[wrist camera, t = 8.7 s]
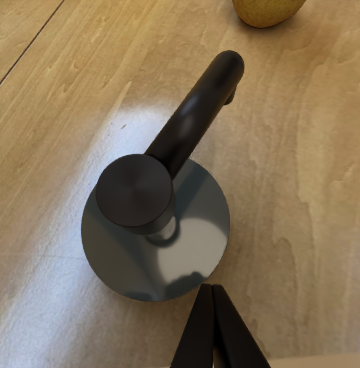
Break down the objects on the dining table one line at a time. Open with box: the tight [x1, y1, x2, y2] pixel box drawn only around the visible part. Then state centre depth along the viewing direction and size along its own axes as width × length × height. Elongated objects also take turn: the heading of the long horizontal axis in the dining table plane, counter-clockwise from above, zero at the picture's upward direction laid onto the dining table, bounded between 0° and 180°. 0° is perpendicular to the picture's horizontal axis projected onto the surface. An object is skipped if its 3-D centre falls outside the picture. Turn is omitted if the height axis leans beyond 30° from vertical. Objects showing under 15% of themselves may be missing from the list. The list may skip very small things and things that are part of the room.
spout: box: [96, 50, 244, 235], centre depth 14 cm, size 13×4×4 cm, turn 148°
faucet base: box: [81, 159, 230, 302], centre depth 16 cm, size 12×12×6 cm
